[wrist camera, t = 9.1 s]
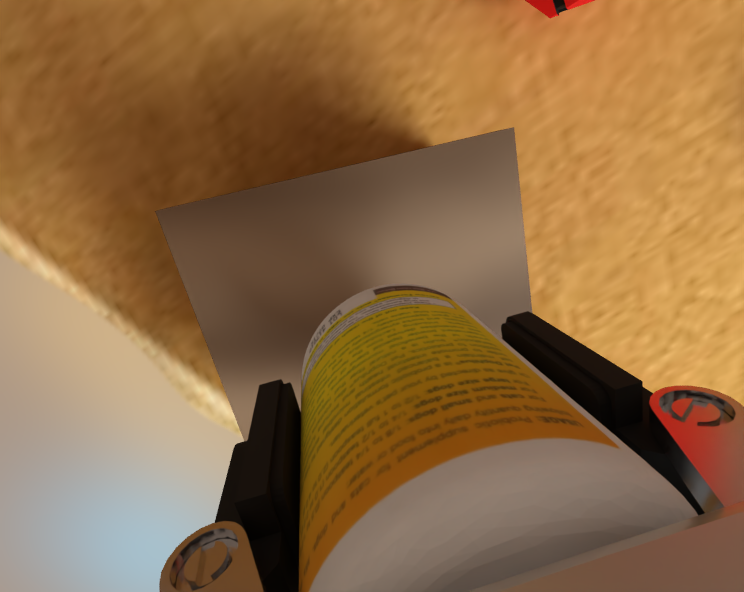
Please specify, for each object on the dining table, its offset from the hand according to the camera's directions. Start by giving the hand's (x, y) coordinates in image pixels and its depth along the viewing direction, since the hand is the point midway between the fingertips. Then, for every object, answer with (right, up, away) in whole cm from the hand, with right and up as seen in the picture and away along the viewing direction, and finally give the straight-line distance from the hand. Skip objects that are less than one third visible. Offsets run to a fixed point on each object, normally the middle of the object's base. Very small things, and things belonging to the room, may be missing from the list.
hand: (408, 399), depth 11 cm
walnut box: (-2, +3, +11) cm, 12 cm away
